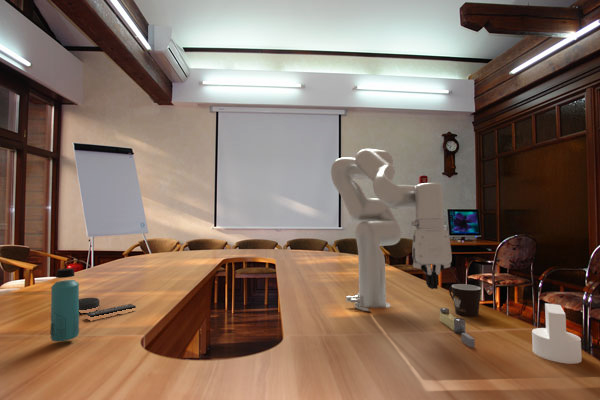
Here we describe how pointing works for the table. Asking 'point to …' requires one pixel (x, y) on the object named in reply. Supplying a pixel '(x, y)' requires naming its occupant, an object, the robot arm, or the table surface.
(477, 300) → the coffee mug
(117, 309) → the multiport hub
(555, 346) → the cylinder with rectangular tab
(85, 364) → the table surface
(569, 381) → the table surface
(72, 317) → the beverage bottle
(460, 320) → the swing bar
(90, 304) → the smart speaker
